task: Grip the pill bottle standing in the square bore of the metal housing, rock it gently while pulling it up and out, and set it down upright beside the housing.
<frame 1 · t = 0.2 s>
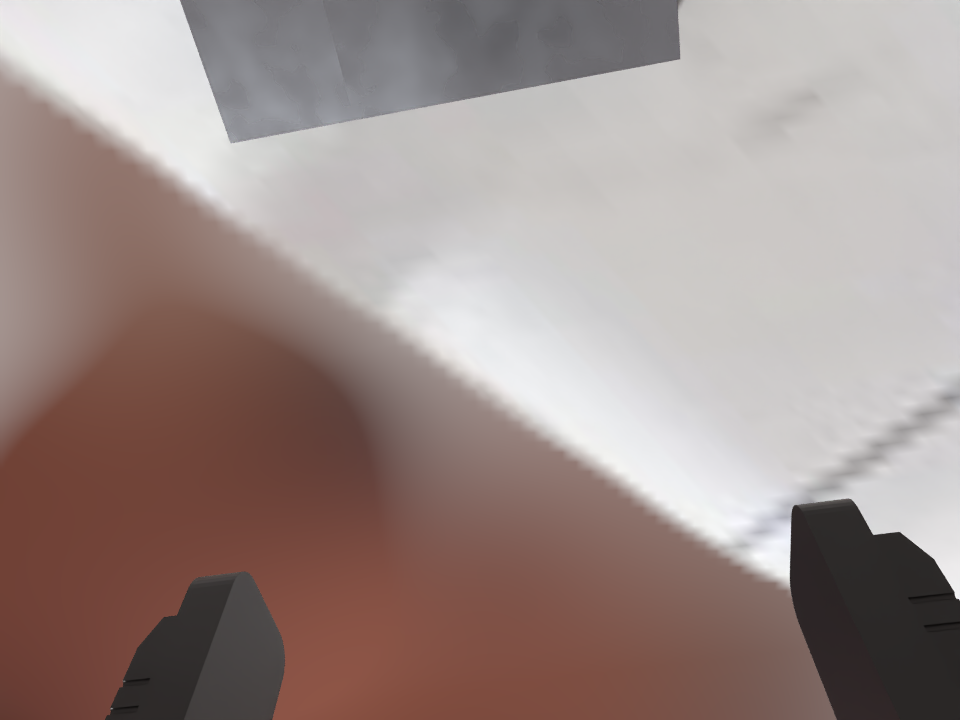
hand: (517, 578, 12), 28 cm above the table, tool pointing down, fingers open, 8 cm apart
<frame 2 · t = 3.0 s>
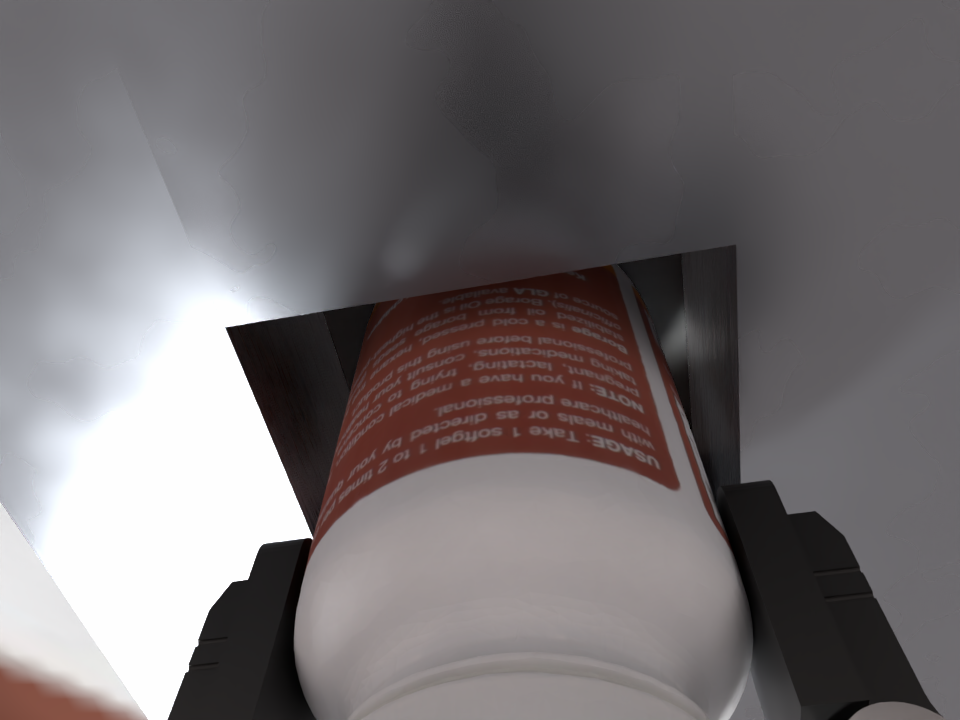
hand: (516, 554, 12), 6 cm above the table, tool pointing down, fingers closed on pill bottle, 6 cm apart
pill bottle: (509, 341, 18), resting in bore housing, touching gripper
bore housing: (509, 345, 17), on the table
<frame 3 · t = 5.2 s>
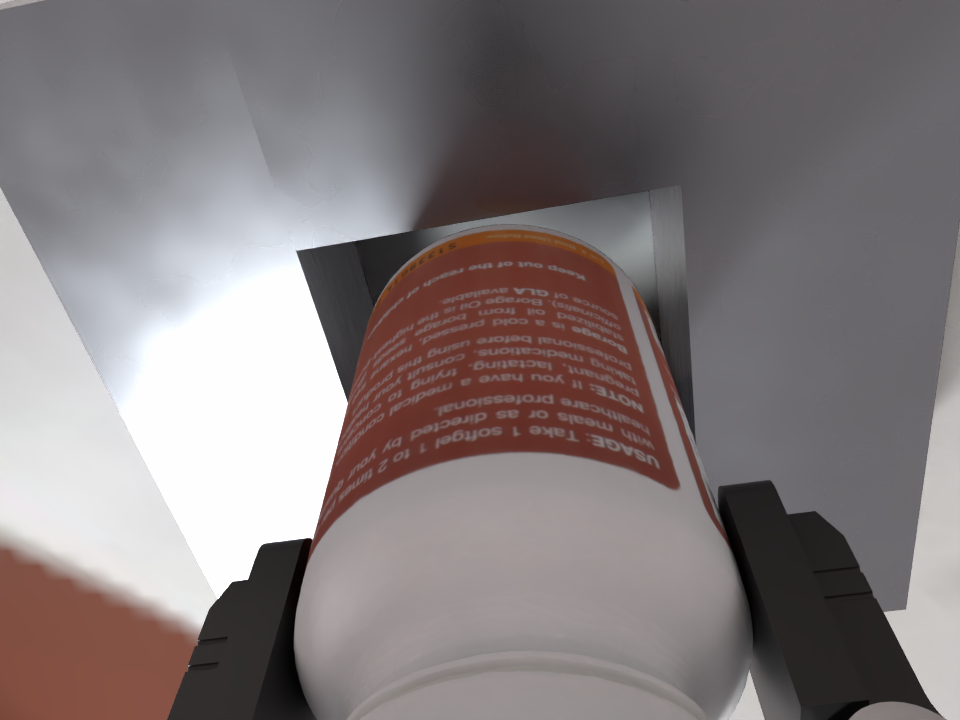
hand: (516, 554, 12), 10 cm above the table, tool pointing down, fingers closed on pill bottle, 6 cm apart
pill bottle: (509, 341, 18), point 4 cm above the table, touching gripper
bore housing: (511, 286, 21), on the table
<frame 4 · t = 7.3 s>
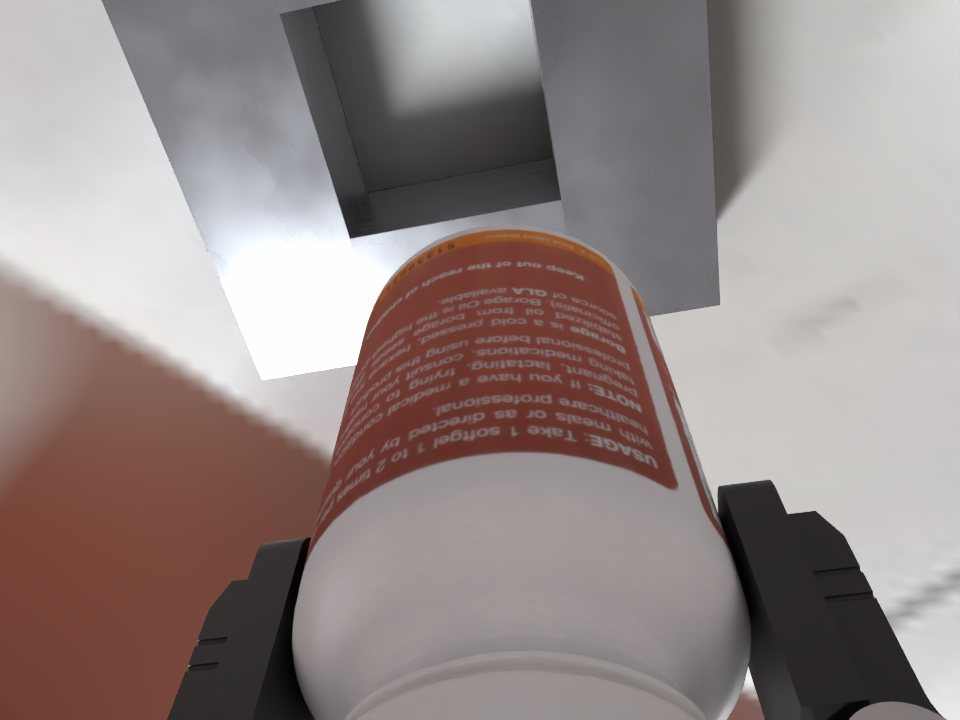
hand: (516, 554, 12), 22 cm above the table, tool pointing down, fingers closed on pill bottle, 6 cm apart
pill bottle: (508, 341, 18), point 16 cm above the table, touching gripper
bore housing: (437, 78, 30), on the table
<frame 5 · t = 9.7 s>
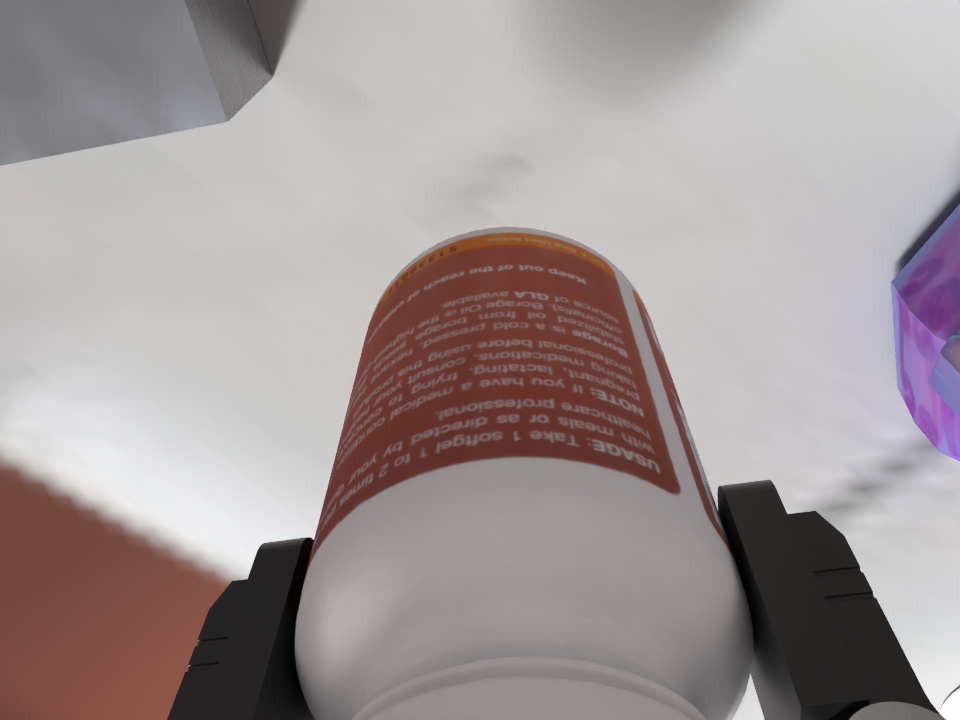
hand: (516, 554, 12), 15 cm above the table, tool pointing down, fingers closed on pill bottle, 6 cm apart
pill bottle: (510, 344, 18), point 8 cm above the table, touching gripper
when the fingers open (7 cm above the table, at t = 12.0 s): pill bottle drops 1 cm, on the table.
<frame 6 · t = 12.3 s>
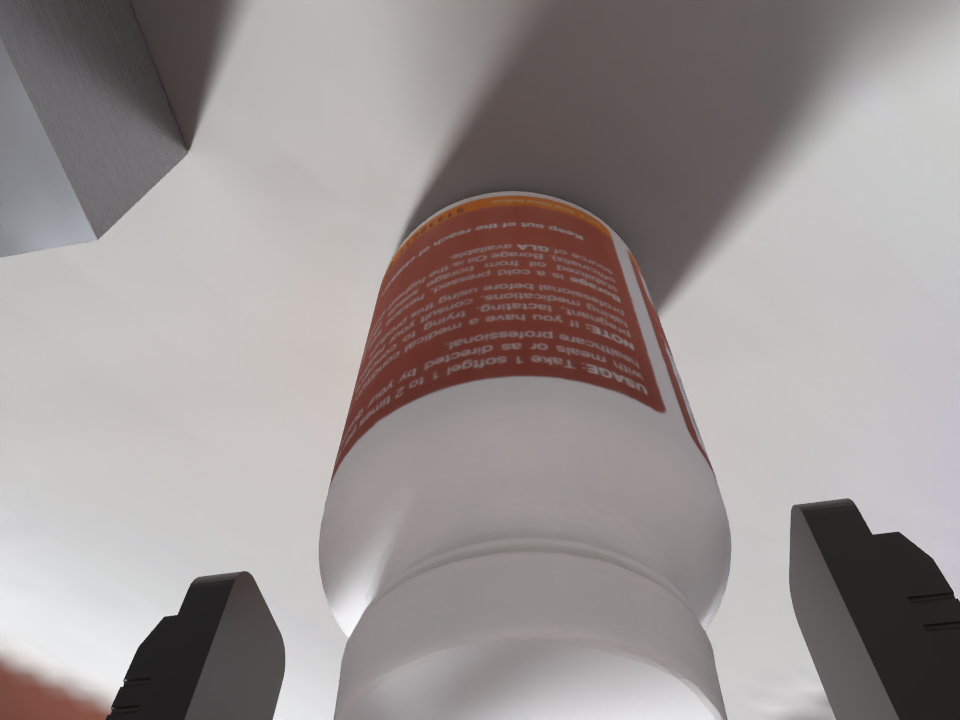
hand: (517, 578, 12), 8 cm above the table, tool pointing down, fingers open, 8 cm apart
pill bottle: (513, 304, 19), on the table
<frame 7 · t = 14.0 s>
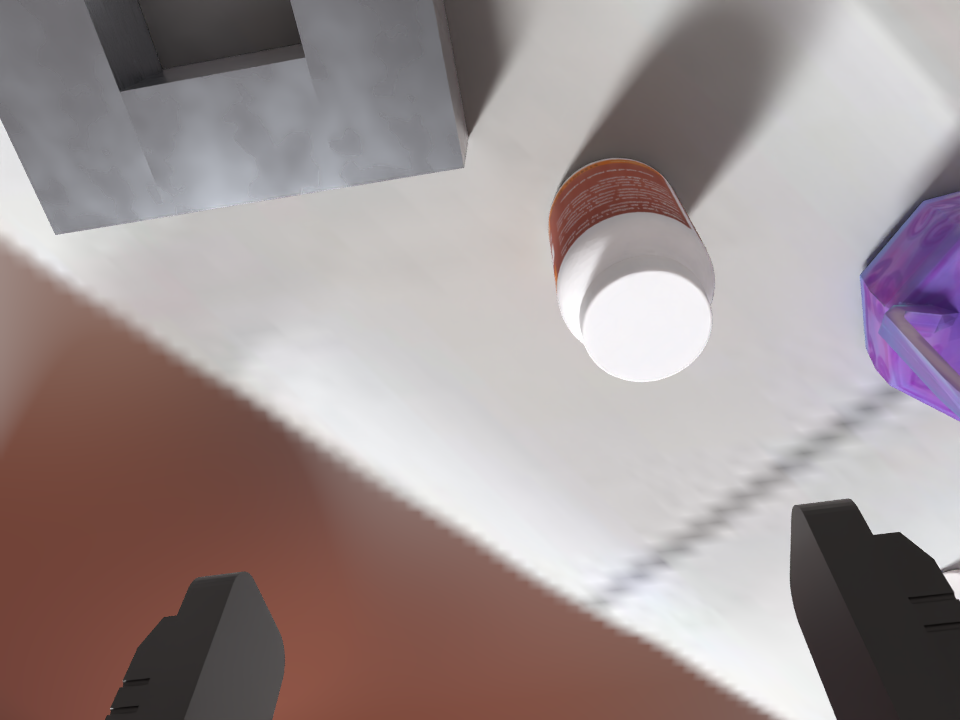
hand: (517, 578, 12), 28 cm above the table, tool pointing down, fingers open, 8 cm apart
beer glass: (950, 600, 50), on the table
pill bottle: (611, 216, 38), on the table
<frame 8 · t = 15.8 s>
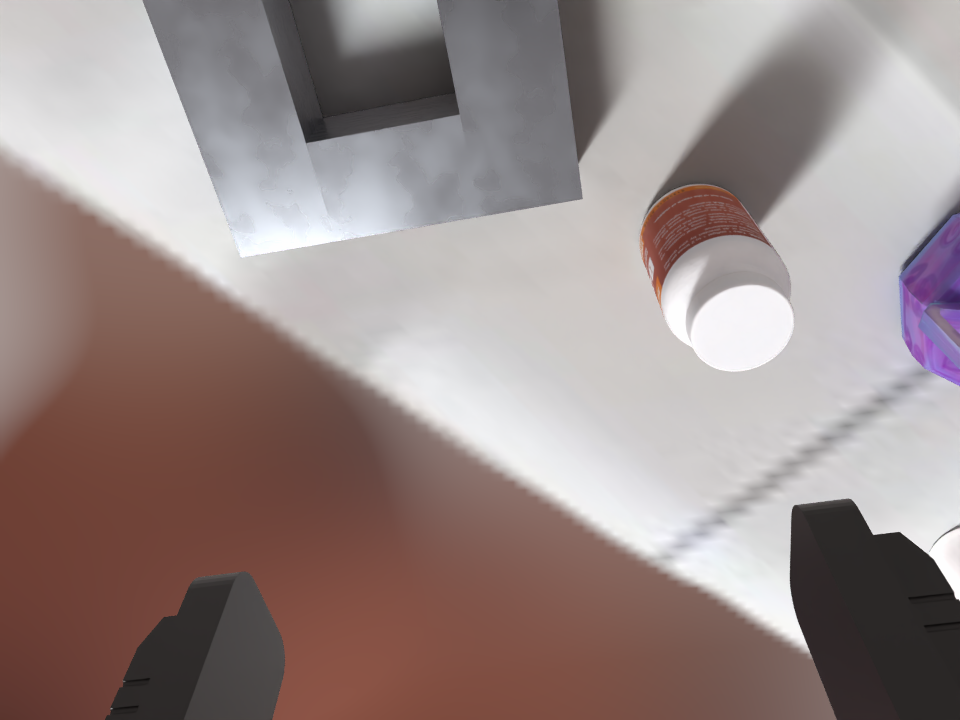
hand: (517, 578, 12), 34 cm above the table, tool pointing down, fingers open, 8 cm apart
pill bottle: (691, 230, 45), on the table
bore housing: (373, 28, 40), on the table
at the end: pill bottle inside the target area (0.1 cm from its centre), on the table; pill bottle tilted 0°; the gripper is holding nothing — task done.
